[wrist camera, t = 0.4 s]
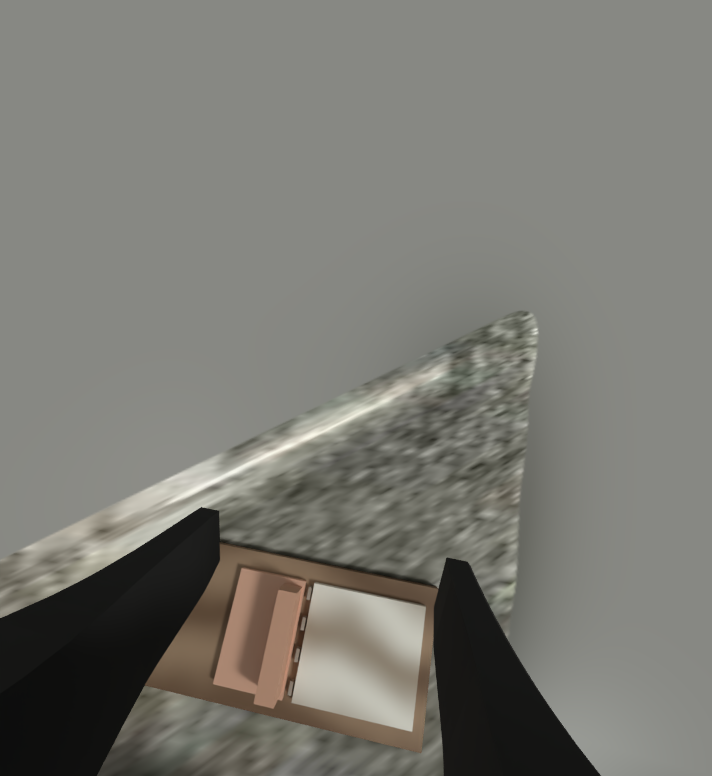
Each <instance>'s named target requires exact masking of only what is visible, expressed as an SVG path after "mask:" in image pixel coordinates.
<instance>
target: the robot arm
mask: <svg viewBox="0 0 712 776" xmlns="http://www.w3.org/2000/svg"><path fill="white" fill-rule="evenodd" d="M219 562H220V531H219V511H217V510H212V509H207V508H202V507H201V508H199V509H198V510H196V511H194V512H193V513H191V514H190V515H188V516H187V517H185V518H184V519H182V520H181V521H179V522H178V523H176V524H175V525H173V526H172V527H170V528H169V529H167V530H165V531H164V532H162V533H161V534H159V535H158V536H156V537H155V538H153V539H151V540H150V541H148V542H147V543H145V544H144V545H142V546H140V547H139V548H137V549H136V550H134V551H132V552H131V553H129V554H127V555H126V556H124V557H122V558H120V559H119V560H117V561H115V562H114V563H112V564H110V565H108V566H107V567H105V568H103V569H102V570H100V571H98V572H96V573H95V574H93V575H91V576H89V577H87V578H85V579H83V580H81V581H80V582H78V583H76V584H74V585H72V586H70V587H68V588H66V589H64V590H62V591H60V592H58V593H56V594H54V595H52V596H49V597H47V598H45V599H43V600H41V601H38V602H36V603H34V604H32V605H29V606H27V607H25V608H23V609H20V610H18V611H16V612H14V613H11V614H9V615H7V616H5V617H2V618H0V776H97V774H98V772H99V770H100V768H101V766H102V764H103V762H104V761H105V759H106V757H107V755H108V753H109V751H110V749H111V747H112V745H113V743H114V741H115V739H116V738H117V736H118V734H119V732H120V730H121V728H122V726H123V724H124V722H125V720H126V719H127V717H128V715H129V713H130V711H131V709H132V708H133V706H134V704H135V702H136V700H137V698H138V697H139V695H140V693H141V691H142V689H143V687H144V686H145V684H146V682H147V680H148V679H149V677H150V675H151V674H152V672H153V671H154V669H155V667H156V666H157V664H158V663H159V661H160V660H161V658H162V656H163V655H164V653H165V652H166V650H167V649H168V647H169V646H170V644H171V643H172V641H173V640H174V638H175V637H176V635H177V634H178V632H179V630H180V629H181V627H182V626H183V624H184V623H185V621H186V620H187V618H188V617H189V615H190V614H191V612H192V610H193V609H194V607H195V606H196V604H197V603H198V601H199V600H200V598H201V596H202V595H203V593H204V592H205V590H206V588H207V586H208V584H209V582H210V580H211V578H212V576H213V574H214V572H215V570H216V568H217V566H218V564H219ZM434 656H435V667H436V678H437V689H438V700H439V710H440V721H441V731H442V744H443V760H444V776H601V775H600V774H599V773H598V772H597V770H596V769H595V768H594V766H593V765H592V764H591V763H590V761H589V760H588V759H587V758H586V756H585V755H584V754H583V752H582V751H581V750H580V749H579V747H578V746H577V745H576V743H575V742H574V740H573V739H572V738H571V736H570V735H569V734H568V732H567V731H566V729H565V728H564V727H563V725H562V724H561V722H560V721H559V720H558V718H557V717H556V715H555V714H554V712H553V711H552V710H551V708H550V707H549V705H548V704H547V702H546V701H545V699H544V698H543V696H542V695H541V693H540V692H539V690H538V689H537V687H536V686H535V684H534V683H533V681H532V680H531V678H530V676H529V675H528V673H527V671H526V670H525V668H524V667H523V665H522V663H521V662H520V660H519V658H518V657H517V655H516V653H515V652H514V650H513V648H512V646H511V645H510V643H509V641H508V639H507V638H506V636H505V634H504V632H503V630H502V629H501V627H500V625H499V623H498V621H497V619H496V618H495V616H494V614H493V612H492V610H491V608H490V606H489V604H488V602H487V600H486V598H485V596H484V594H483V592H482V590H481V588H480V586H479V584H478V582H477V579H476V577H475V575H474V573H473V571H472V568H471V566H470V565H469V563H468V562H466V561H461V560H456V559H451V558H446V562H445V566H444V570H443V574H442V578H441V581H440V585H439V589H438V593H437V597H436V601H435V604H434Z"/></svg>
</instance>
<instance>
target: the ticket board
mask: <svg viewBox="0 0 712 776" xmlns="http://www.w3.org/2000/svg"><path fill="white" fill-rule="evenodd" d="M243 567H246V568H251V569H255V570H260V571H265V572H270V573H274V574H279V575H284V576H289V577H293V578H298V579H303V580H307V581H306V587H305V592H304V597H303V602H302V607H301V612H300V617H299V622H298V627H297V632H296V637H295V642H294V647H293V652H292V657H291V662H290V667H289V672H288V677H287V682H286V687H285V692H284V697H283V699H282V701H281V700H277V702H276V705H275V707H274V709H272V708H268V707H264V706H260V705H256V704H254V699H255V694H252V693H247V692H243V691H239V690H235V689H231V688H227V687H223V686H218V685H214V684H213V681H214V677H215V673H216V669H217V665H218V661H219V657H220V653H221V649H222V645H223V641H224V637H225V633H226V629H227V625H228V621H229V617H230V613H231V609H232V605H233V601H234V597H235V593H236V589H237V585H238V581H239V577H240V573H241V569H242V568H243ZM437 593H438V588H437V587H436V586H431V585H426V584H421V583H416V582H411V581H407V580H402V579H397V578H392V577H387V576H382V575H377V574H373V573H368V572H363V571H358V570H353V569H348V568H343V567H339V566H334V565H329V564H324V563H319V562H314V561H309V560H305V559H300V558H295V557H290V556H285V555H280V554H275V553H271V552H266V551H261V550H256V549H251V548H246V547H241V546H237V545H232V544H227V543H222V542H220V562H219V564H218V566H217V568H216V570H215V572H214V574H213V576H212V578H211V580H210V582H209V584H208V586H207V588H206V590H205V592H204V593H203V595H202V596H201V598H200V600H199V601H198V603H197V604H196V606H195V607H194V609H193V610H192V612H191V614H190V615H189V617H188V618H187V620H186V621H185V623H184V624H183V626H182V627H181V629H180V630H179V632H178V634H177V635H176V637H175V638H174V640H173V641H172V643H171V644H170V646H169V647H168V649H167V650H166V652H165V653H164V655H163V656H162V658H161V660H160V661H159V663H158V664H157V666H156V667H155V669H154V671H153V672H152V674H151V675H150V677H149V679H148V680H147V682H146V684H145V685H146V686H150V687H154V688H158V689H162V690H166V691H170V692H174V693H178V694H182V695H186V696H190V697H195V698H199V699H203V700H207V701H211V702H215V703H219V704H223V705H227V706H231V707H235V708H239V709H243V710H247V711H252V712H256V713H260V714H264V715H268V716H272V717H276V718H280V719H284V720H288V721H292V722H296V723H300V724H304V725H309V726H313V727H317V728H321V729H325V730H329V731H333V732H337V733H341V734H345V735H349V736H353V737H357V738H361V739H366V740H370V741H374V742H378V743H382V744H386V745H390V746H394V747H398V748H402V749H406V750H410V751H414V752H419V753H421V751H422V741H423V732H424V722H425V712H426V703H427V693H428V683H429V674H430V664H431V654H432V644H433V635H434V604H435V601H436V597H437Z"/></svg>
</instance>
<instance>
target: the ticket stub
mask: <svg viewBox="0 0 712 776" xmlns="http://www.w3.org/2000/svg"><path fill="white" fill-rule="evenodd" d="M306 581H307V580H303V579H298V578H293V577H289V576H284V575H279V574H274V573H270V572H265V571H260V570H255V569H251V568H246V567H243V568H242V569H241V573H240V577H239V581H238V585H237V589H236V593H235V597H234V601H233V605H232V609H231V613H230V617H229V621H228V625H227V629H226V633H225V637H224V641H223V645H222V649H221V653H220V657H219V661H218V665H217V669H216V673H215V677H214V681H213V684H214V685H218V686H223V687H227V688H231V689H235V690H239V691H243V692H247V693H252V694H255V699H254V704H256V705H260V706H264V707H268V708H272V709H274V707H275V705H276V702H277V700H281V701H282V699H283V697H284V692H285V687H286V682H287V677H288V672H289V667H290V662H291V657H292V652H293V647H294V642H295V637H296V632H297V627H298V622H299V617H300V612H301V607H302V602H303V597H304V592H305V587H306Z"/></svg>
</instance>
